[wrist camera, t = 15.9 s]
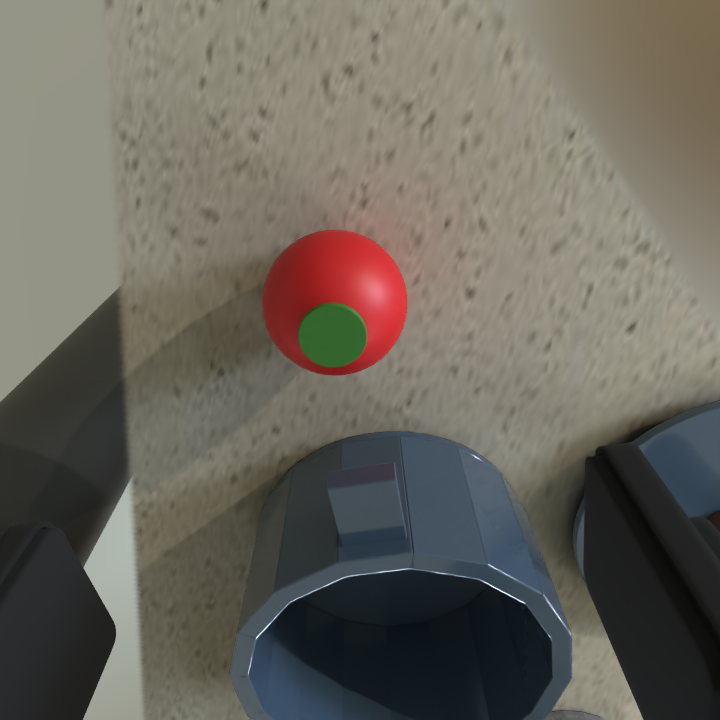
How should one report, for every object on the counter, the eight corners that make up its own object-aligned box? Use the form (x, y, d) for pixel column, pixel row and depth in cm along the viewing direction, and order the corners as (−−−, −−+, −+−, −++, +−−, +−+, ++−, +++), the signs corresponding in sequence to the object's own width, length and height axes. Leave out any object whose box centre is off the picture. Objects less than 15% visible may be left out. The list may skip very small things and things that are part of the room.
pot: (302, 668, 34) (290, 813, 28) (211, 405, 26) (160, 526, 19) (529, 641, 33) (572, 785, 27) (514, 359, 25) (573, 469, 18)
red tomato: (337, 360, 25) (332, 433, 20) (245, 277, 23) (216, 335, 18) (428, 280, 23) (447, 339, 18) (337, 185, 21) (332, 222, 16)
